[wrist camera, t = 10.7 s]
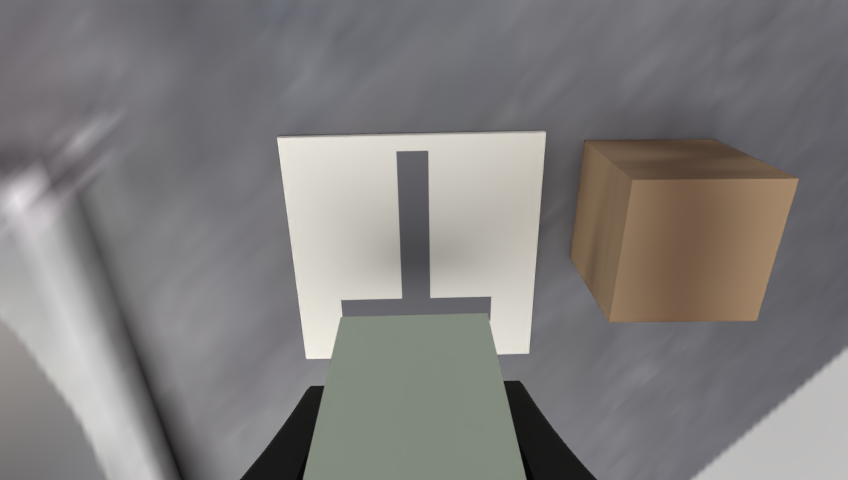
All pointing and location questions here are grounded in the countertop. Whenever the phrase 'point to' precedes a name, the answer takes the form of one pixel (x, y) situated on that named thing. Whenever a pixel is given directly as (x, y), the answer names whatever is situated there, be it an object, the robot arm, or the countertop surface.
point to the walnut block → (677, 229)
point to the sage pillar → (414, 403)
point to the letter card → (414, 228)
